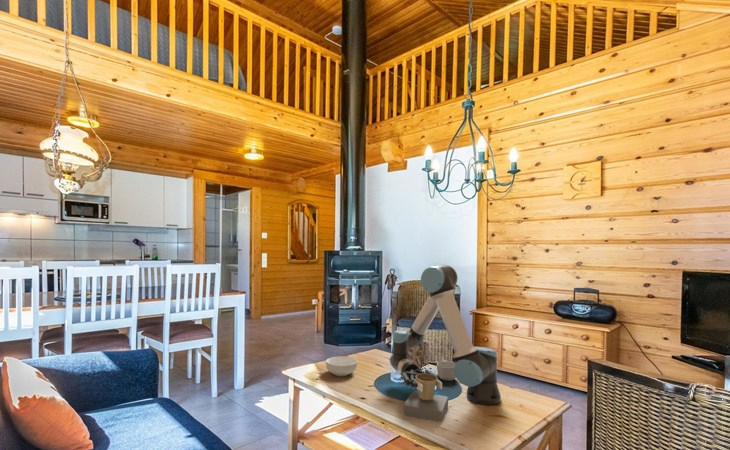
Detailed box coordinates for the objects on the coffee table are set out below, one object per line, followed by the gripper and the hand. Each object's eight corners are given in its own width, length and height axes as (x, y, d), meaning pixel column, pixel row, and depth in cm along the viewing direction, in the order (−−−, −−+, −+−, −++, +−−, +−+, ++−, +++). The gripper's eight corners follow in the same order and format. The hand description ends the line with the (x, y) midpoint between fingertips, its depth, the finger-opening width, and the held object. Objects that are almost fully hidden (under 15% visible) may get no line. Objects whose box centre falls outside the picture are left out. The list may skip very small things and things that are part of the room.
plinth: (447, 406, 168) (448, 396, 168) (441, 421, 153) (441, 411, 153) (412, 400, 174) (412, 391, 174) (403, 414, 159) (403, 405, 159)
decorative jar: (400, 366, 221) (400, 334, 221) (414, 362, 228) (415, 332, 228) (414, 372, 211) (415, 339, 212) (429, 368, 218) (429, 336, 219)
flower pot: (434, 392, 169) (434, 373, 169) (439, 402, 159) (439, 381, 160) (413, 392, 168) (413, 373, 169) (417, 402, 159) (417, 381, 159)
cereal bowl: (363, 374, 206) (363, 361, 206) (339, 381, 195) (339, 367, 195) (342, 366, 218) (343, 353, 219) (319, 373, 207) (319, 359, 207)
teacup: (457, 383, 195) (458, 367, 195) (436, 381, 197) (436, 366, 197) (456, 374, 209) (457, 359, 209) (436, 372, 211) (436, 358, 211)
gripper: (428, 375, 184) (453, 393, 163) (387, 379, 177) (408, 399, 156) (428, 359, 185) (453, 375, 163) (387, 363, 178) (408, 380, 156)
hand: (431, 387), depth 160 cm, fingers closed on flower pot, 8 cm apart
